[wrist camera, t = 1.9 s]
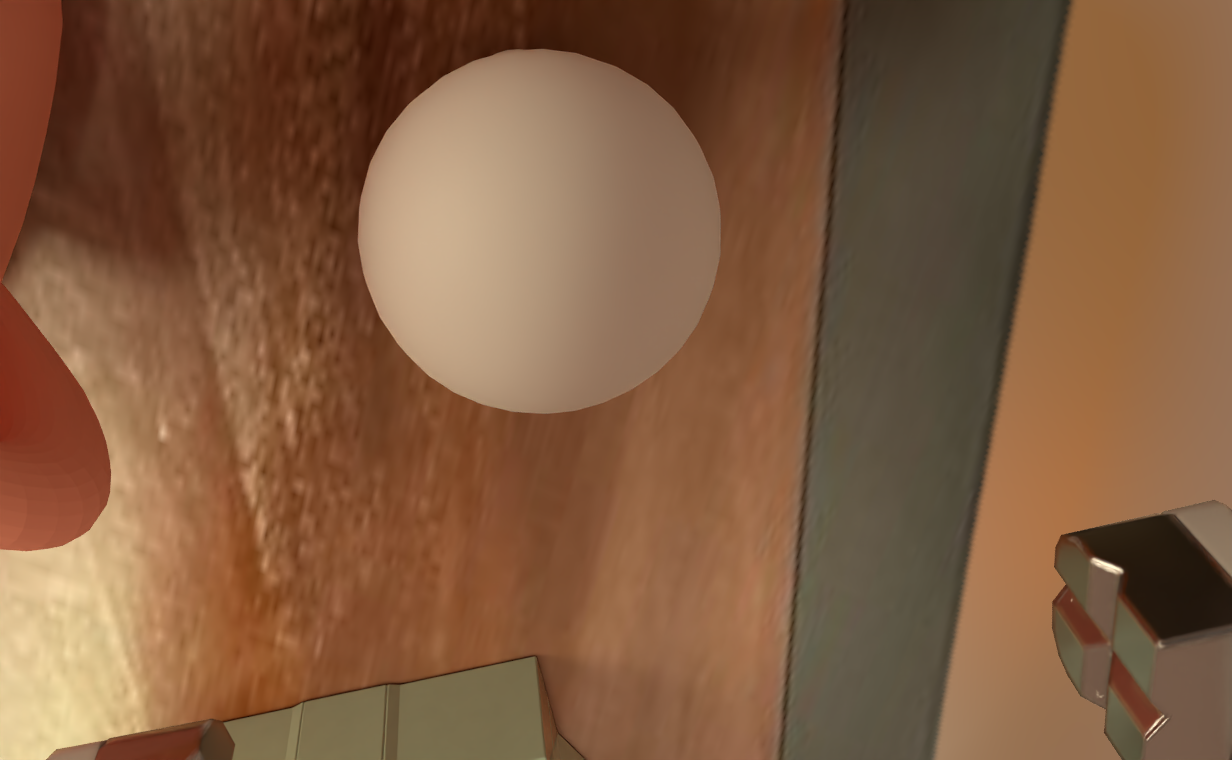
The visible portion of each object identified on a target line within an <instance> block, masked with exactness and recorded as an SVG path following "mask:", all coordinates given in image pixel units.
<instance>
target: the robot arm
mask: <svg viewBox="0 0 1232 760" xmlns="http://www.w3.org/2000/svg"><path fill="white" fill-rule="evenodd" d="M1054 567H1055V569H1056V570H1057V572H1058V573H1059V575H1060V576H1061V577H1062V579H1063V580H1064V582H1065V583H1066V585H1065V586H1064V588H1063V589H1062V590H1061V591H1060V593H1059V594H1058V595H1057V597H1056V598H1055V599H1054V600H1053V603H1052V629H1053V633H1054V638H1055V642H1056V646H1057V650H1058V654H1059V657H1060V659H1061V662H1062V664H1063V666H1064V668H1065V670H1066V673H1067V675H1068V677H1069V678H1070V680H1071V682H1072V683H1073V685H1074V686H1075V688H1076V690H1077V691H1078V693H1079V694H1080V696H1081V697H1083V698H1085V699H1087V700H1089V701H1090V702H1092V703H1094V704H1096V705H1098V706H1100V707H1102V708H1104V709H1106V716H1105V728H1104V733H1105V735H1106V736H1107V738H1108V739H1109V741H1110V742H1111V744H1112V745H1113V747H1114V748H1115V750H1116V751H1117V753H1118V754H1119V756H1120V757H1121V759H1122V760H1232V510H1231V509H1230V508H1229V507H1228V506H1227V505H1225V504H1223V503H1220V502H1218V501H1215V500H1212V501H1207V502H1203V503H1199V504H1194V505H1190V506H1185V507H1181V508H1177V509H1172V510H1168V511H1164V512H1162V513H1161V514H1152V515H1148V516H1143V517H1139V518H1134V519H1130V520H1125V521H1121V522H1117V523H1113V524H1108V525H1103V526H1099V527H1095V528H1090V529H1086V530H1081V531H1077V532H1072V533H1068V534H1064V535H1061V537H1060V539H1059V541H1058V543H1057V545H1056V550H1055V563H1054ZM234 749H235V743H234V741H233V739H232V738H231V736H230V734H229V732H228V730H227V729H226V727H225V725H224V723H223V721H220V720H215V719H208V720H203V721H198V722H192V723H187V724H182V725H177V726H171V727H166V728H161V729H156V730H150V731H145V732H140V733H135V734H129V735H124V736H119V737H114V738H109V739H108V740H105V741H100V742H94V743H89V744H83V745H78V746H72V747H67V748H62V749H56V750H55V751H54V752H53V753H52V754H51V755H50V756H49V757H48V758H47V759H46V760H232V759H233V754H234Z"/></svg>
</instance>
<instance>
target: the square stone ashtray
mask: <svg viewBox="0 0 1232 760" xmlns="http://www.w3.org/2000/svg"><path fill="white" fill-rule="evenodd" d="M223 723H224V725H225V727H226V729H227V730H228V732H229V734H230V736H231V738H232V739H233V741H234V743H235V749H234V754H233V759H232V760H585V759H584V758H583V757H582V756H581V755H580V754H579V753H578V752H577V751H576V750H575V749H574V748H573V747H572V746H571V745H570V744H568V743H567V742H566V741H565V740H564V739H563V738H562V737H561V736H560V735H559V734H558V733H557V729H556V725H555V722H554V718H553V715H552V711H551V707H550V704H549V700H548V696H547V693H546V689H545V686H544V682H543V678H542V675H541V671H540V668H539V664H538V660H537V658H536V656H534V657H529V658H524V659H519V660H515V661H510V662H505V663H501V664H496V665H491V666H487V667H482V668H477V669H472V670H468V671H463V672H458V673H454V674H449V675H444V676H439V677H435V678H430V679H425V680H421V681H416V682H411V683H406V684H402V685H394V684H388V686H387V685H382V686H377V687H372V688H367V689H363V690H358V691H353V692H349V693H344V694H339V695H335V696H330V697H325V698H320V699H316V700H311V701H306V702H305V703H304V702H302V703H300V704H298V705H297V706H295V707H293V708H289V709H284V710H279V711H275V712H270V713H265V714H261V715H256V716H251V717H246V718H242V719H237V720H232V721H228V722H223Z"/></svg>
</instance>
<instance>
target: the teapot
mask: <svg viewBox="0 0 1232 760" xmlns="http://www.w3.org/2000/svg"><path fill="white" fill-rule="evenodd" d="M62 29H63V20H62V6H61V0H0V549H5V550H19V551H32V550H40V549H48V548H53V547H58V546H63V545H64V544H66V543H68V542H70V541H72V540H74V539H76V538H78V537H80V536H81V535H83V534H84V533H86V532H87V531H89V530H90V528H91V527H92V525H93V524H94V522H95V521H96V520H97V518H98V517H99V515H100V514H101V512H102V511H103V509H104V508H105V506H106V505H107V501H108V497H109V494H110V482H111V469H110V460H109V455H108V449H107V444H106V440H105V437H104V435H103V432H102V429H101V426H100V423H99V421H98V419H97V416H96V414H95V412H94V410H93V408H92V406H91V404H90V402H89V400H88V398H87V396H86V394H85V392H84V391H83V389H82V388H81V386H80V385H79V383H78V382H77V380H76V379H75V377H74V376H73V374H72V373H71V372H70V370H69V369H68V367H67V366H66V365H65V363H64V362H63V361H62V359H61V358H60V357H59V355H58V354H57V352H56V351H55V350H54V348H53V347H52V346H51V344H50V343H49V342H48V341H47V339H46V338H45V337H44V335H43V334H42V333H41V332H40V330H39V329H38V328H37V326H36V325H35V324H34V323H33V321H32V320H31V319H30V317H29V316H28V315H27V314H26V312H25V311H24V310H23V308H22V307H21V306H20V305H19V303H18V302H17V301H16V299H15V298H14V297H13V296H12V295H11V293H10V292H9V291H8V290H7V289H6V287H5V286H4V285H3V284H2V283H1V281H2V279H3V277H4V274H5V271H6V269H7V266H8V263H9V261H10V258H11V255H12V252H13V250H14V247H15V244H16V241H17V239H18V236H19V233H20V230H21V228H22V225H23V222H24V218H25V215H26V211H27V208H28V205H29V201H30V198H31V194H32V191H33V187H34V184H35V180H36V176H37V171H38V167H39V163H40V159H41V154H42V150H43V146H44V142H45V137H46V133H47V127H48V122H49V117H50V112H51V107H52V101H53V96H54V91H55V86H56V78H57V70H58V61H59V52H60V43H61V36H62Z"/></svg>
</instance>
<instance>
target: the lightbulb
mask: <svg viewBox="0 0 1232 760" xmlns="http://www.w3.org/2000/svg"><path fill="white" fill-rule="evenodd" d="M720 245H721V217H720V206H719V201H718V196H717V191H716V186H715V181H714V177H713V175H712V172H711V170H710V168H709V166H708V163H707V161H706V159H705V156H704V154H703V152H702V150H701V147H700V145H699V144H698V142H697V140H696V138H695V137H694V135H693V134H692V132H691V131H690V130H689V128H688V127H687V125H686V124H685V123H684V121H683V120H682V119H681V117H680V116H679V114H678V113H677V112H676V110H675V109H674V108H673V107H672V106H671V105H670V104H669V103H668V102H667V101H665V100H664V99H663V98H662V97H661V96H660V95H659V94H658V93H657V92H655V91H654V90H653V89H652V88H651V87H650V86H649V85H647V84H646V83H644V82H642V81H640V80H639V79H637V78H635V77H634V76H632V75H630V74H628V73H627V72H625V71H623V70H621V69H620V68H618V67H616V66H613V65H610V64H607V63H604V62H601V61H598V60H595V59H593V58H590V57H587V56H584V55H581V54H578V53H572V52H564V51H556V50H548V49H531V50H521V49H514V50H506V51H502V52H499V53H496V54H494V55H492V56H489V57H485V58H481V59H478V60H474V61H472V62H470V63H468V64H466V65H464V66H462V67H460V68H458V69H456V70H454V71H452V72H451V73H449V74H447V75H445V76H443V77H442V78H440V79H439V80H438V81H437V82H435V83H434V84H433V85H432V86H430V87H429V88H428V89H427V90H425V91H424V92H423V93H422V94H420V95H419V96H418V97H417V98H415V99H414V100H413V101H412V102H410V103H409V104H408V106H407V107H406V108H405V109H404V110H403V112H402V113H401V114H400V115H399V116H398V118H397V119H396V120H395V121H394V123H393V124H392V125H391V126H390V127H389V129H388V130H387V131H386V133H385V135H384V137H383V139H382V140H381V142H380V144H379V146H378V148H377V150H376V152H375V154H374V156H373V158H372V160H371V162H370V165H369V169H368V172H367V176H366V180H365V183H364V187H363V191H362V194H361V200H360V206H359V224H358V246H359V252H360V258H361V264H362V269H363V275H364V278H365V281H366V284H367V287H368V289H369V292H370V294H371V297H372V299H373V302H374V304H375V307H376V309H377V311H378V314H379V316H380V318H381V320H382V321H383V323H384V324H385V326H386V327H387V329H388V330H389V332H390V333H391V335H392V336H393V338H394V339H395V341H396V342H397V343H398V345H399V346H400V347H401V348H402V349H403V351H404V352H405V353H406V354H407V355H408V356H409V357H410V358H411V359H412V360H413V361H414V362H415V363H416V364H417V365H418V366H419V367H420V368H421V369H422V370H423V371H424V372H425V373H426V374H427V375H428V376H430V377H431V378H433V379H434V380H436V381H437V382H439V383H440V384H442V385H443V386H445V387H446V388H448V389H449V390H451V391H452V392H454V393H456V394H459V395H461V396H463V397H466V398H468V399H470V400H473V401H475V402H477V403H480V404H482V405H486V406H491V407H495V408H499V409H504V410H508V411H512V412H524V413H541V414H549V413H559V412H569V411H576V410H580V409H583V408H587V407H591V406H594V405H598V404H601V403H604V402H606V401H608V400H610V399H613V398H615V397H617V396H619V395H621V394H623V393H625V392H628V391H630V390H632V389H633V388H635V387H636V386H638V385H639V384H641V383H642V382H644V381H645V380H646V379H648V378H649V377H651V376H652V375H654V374H655V373H657V372H658V371H659V370H660V369H661V368H662V367H663V366H664V365H665V364H666V363H667V362H668V361H669V360H670V359H671V358H672V357H673V356H674V355H675V354H676V353H677V352H678V351H679V350H680V349H681V348H682V346H683V345H684V343H685V342H686V340H687V339H688V338H689V336H690V335H691V333H692V332H693V330H694V329H695V328H696V326H697V324H698V322H699V320H700V318H701V315H702V313H703V311H704V309H705V306H706V304H707V302H708V300H709V297H710V294H711V292H712V289H713V286H714V282H715V277H716V273H717V268H718V264H719V259H720Z"/></svg>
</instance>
